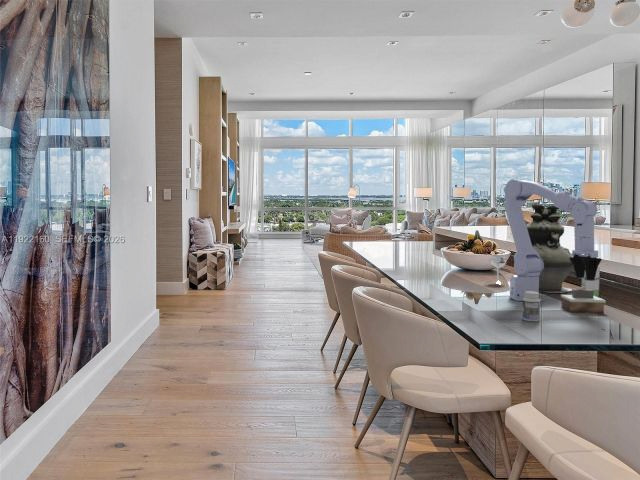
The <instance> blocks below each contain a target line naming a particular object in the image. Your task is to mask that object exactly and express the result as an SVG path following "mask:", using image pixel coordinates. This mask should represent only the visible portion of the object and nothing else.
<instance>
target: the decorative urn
mask: <svg viewBox="0 0 640 480" xmlns="http://www.w3.org/2000/svg"><path fill="white" fill-rule="evenodd" d="M531 208H532V209H533V210H534V213H532V214H530V218H531V219H532V221H530V222H528V223H527V224H526V226H527V230H528V233H529V237H530V240H531V244H532V247H533V248H534V249H535V250H536V251H537V252H538V254H539V257H540V258H541V259H542V261H543V263H544V268H543V270H542V271H541V272H540V275H539V293H540V292H541V293H549V294H550V293H551V294H553V293H554V294H555V293H557V294H559V293H560V294H564V293H569V292H572V289H573V288H569V287H564V286H563V283H564V281H565V279H566V278H567V277H568V276H569V274H570V272H571V269H572V267H573V264H572V262H571V261H570V259H569V257H572V254H571V252H570V249H569V248H567V247H563V246H561V243H560V242H561V240H560V239H561V237H562V236H564V235H563V234H565V227H564V226H563V224H562V223H560V222H559V220H560V219H561V215H559V214H558V213H557V210H560V209H559V208H557V207H555V206H554V205H548V206H547V207H545V206H544V205H542V204H531Z"/></svg>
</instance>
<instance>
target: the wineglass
mask: <svg viewBox="0 0 640 480" xmlns="http://www.w3.org/2000/svg"><path fill="white" fill-rule="evenodd" d="M490 257H491V258H490V263H491V265H492V266H493V267H495V268H496V269H497V270H496V278H497V279H496V281H491V283H492V284H499V285H501V284H504V282H502V281H499V273H500V269H501V268H503V267H504V266H505V265H507V261H508V260H507V255H501V254H495V255H494V254H493V255H490Z"/></svg>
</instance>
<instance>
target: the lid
mask: <svg viewBox="0 0 640 480" xmlns="http://www.w3.org/2000/svg"><path fill="white" fill-rule="evenodd" d="M571 289H572V291H571V294H560V298H561V299H562V298H564V299H566V300H568V301H570V302H597V303H604V304H606V301H607V300H605V299H603V298H602V297H599V296H598V297H597V296H593V294H594V291H593V290H585V289H578V288H577V289H574V288H571Z"/></svg>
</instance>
